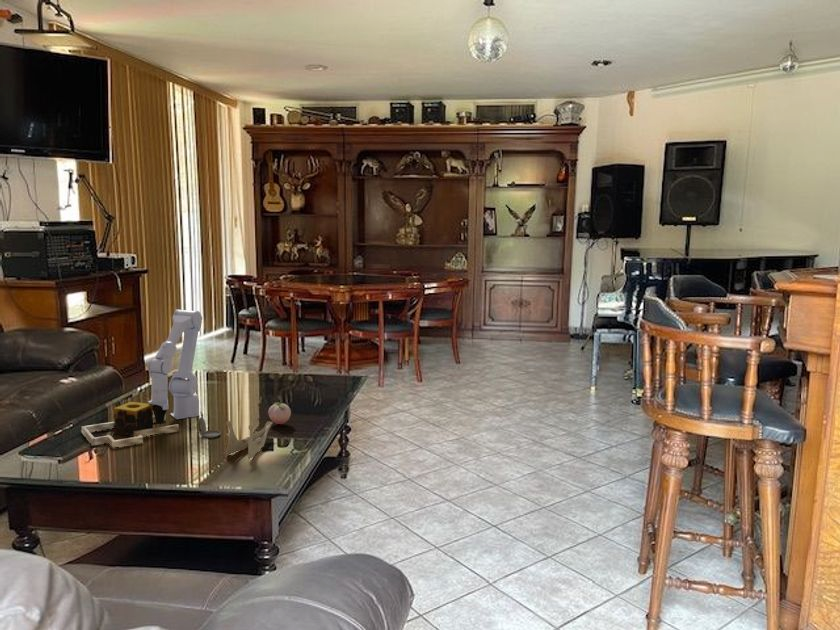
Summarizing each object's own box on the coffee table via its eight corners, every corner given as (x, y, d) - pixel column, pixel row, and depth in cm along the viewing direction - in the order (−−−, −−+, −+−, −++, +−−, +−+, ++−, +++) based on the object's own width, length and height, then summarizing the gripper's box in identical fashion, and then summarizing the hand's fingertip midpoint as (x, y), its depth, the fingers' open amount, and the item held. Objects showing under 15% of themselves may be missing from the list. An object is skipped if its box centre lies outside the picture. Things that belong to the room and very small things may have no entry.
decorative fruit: (295, 425, 247) (295, 402, 245) (277, 429, 241) (278, 405, 239) (281, 420, 253) (282, 397, 252) (264, 424, 247) (265, 400, 246)
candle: (136, 437, 224) (136, 411, 222) (112, 434, 226) (112, 408, 225) (154, 429, 234) (154, 404, 232) (131, 426, 236) (131, 401, 234)
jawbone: (250, 462, 206) (248, 422, 205) (224, 460, 209) (222, 421, 207) (283, 441, 230) (282, 405, 229) (260, 439, 233) (258, 404, 232)
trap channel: (159, 415, 250) (159, 410, 249) (184, 436, 228) (184, 429, 228) (77, 428, 230) (77, 421, 230) (96, 451, 209) (96, 444, 208)
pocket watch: (224, 434, 232) (224, 409, 231) (209, 441, 224) (209, 415, 223) (206, 431, 235) (206, 406, 233) (191, 437, 227) (191, 411, 225)
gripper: (142, 386, 237) (143, 419, 239) (154, 394, 226) (155, 430, 228) (161, 384, 241) (161, 417, 243) (174, 392, 231) (174, 426, 232)
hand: (159, 423), depth 236 cm, fingers closed
